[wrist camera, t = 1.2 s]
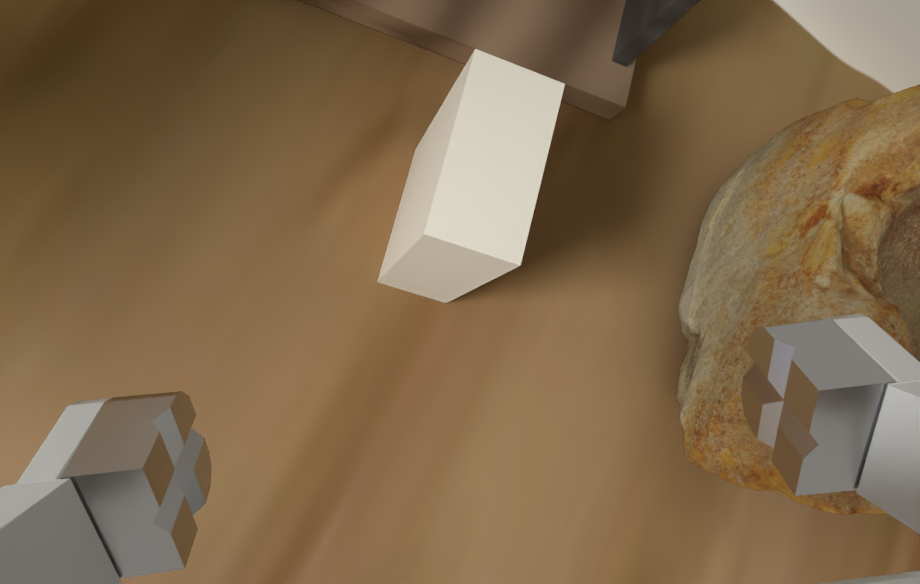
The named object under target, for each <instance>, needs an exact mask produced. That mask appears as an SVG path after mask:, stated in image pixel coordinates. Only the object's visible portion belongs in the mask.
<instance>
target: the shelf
mask: <svg viewBox="0 0 920 584" xmlns="http://www.w3.org/2000/svg"><path fill="white" fill-rule="evenodd" d="M300 1H302V2H305V3H308V4H310V5H313V6H315V7H318V8H321V9H323V10H326V11H328V12H331V13H334V14H336V15H339V16H341V17H344V18H347V19H349V20H352V21H354V22H357V23H359V24H362V25H365V26H367V27H370V28H372V29H375V30H378V31H380V32H383V33H385V34H388V35H391V36H393V37H396V38H398V39H401V40H403V41H406V42H409V43H411V44H414V45H416V46H419V47H422V48H424V49H427V50H429V51H432V52H435V53H437V54H440V55H442V56H445V57H448V58H450V59H453V60H455V61H458V62H460V63H463V64H466V63H467V62H468V60H469V58H470V57H471V55H472V53H473V52H474V50H475V49H478V50H480V51H483V52H485V53H488V54H490V55H493V56H495V57H498V58H500V59H503V60H506V61H508V62H511V63H513V64H516V65H518V66H521V67H523V68H526V69H528V70H531V71H534V72H536V73H539V74H541V75H544V76H546V77H549V78H551V79H554V80H556V81H559V82H562V83H564V84H565V86H564V90H563V95H562V99H561V102H564V103H567V104H569V105H572V106H574V107H577V108H580V109H582V110H585V111H587V112H590V113H593V114H595V115H598V116H600V117H603V118H605V119H608V120H611V119H612V118H613V117H614V116H616V115H617V114H618V113H619V112H621V111H622V110H623V109H624V108H626V104H627V99H628V95H629V90H630V86H631V81H632V77H633V72H634V68H635V63H636V59H637V57H638V56H639V55H640V54H641V53H643V52H644V51H645V50H646V49H647V48H648V47H649V46H650V45H651V44H652V43H653V42H655V41H656V40H657V39H658V38H659V37H660V36H661V35H662V34H663V33H664V32H666V31H667V30H668V29H669V28H670V27H671V26H672V25H673V24H674V23H675V22H676V21H678V20H679V19H680V18H681V17H682V16H683V15H684V14H685V13H686V12H687V11H689V10H690V9H691V8H692V7H693V6H694V5H695V4H696V3H697V2H698V1H699V0H300Z"/></svg>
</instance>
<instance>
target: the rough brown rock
mask: <svg viewBox="0 0 920 584" xmlns="http://www.w3.org/2000/svg"><path fill="white" fill-rule="evenodd" d="M851 314H861V315H864V316H867V317H869V318H870V319H871V320H872V321H873V322H874V323H876V324H877V325H878V326H879V327H880V328H881V329H882V330H884V331H885V332H886V333H887V334H888V335H889V336H890V337H892V338H893V339H894V340H895V341H896V342H897V343H898V344H900V345H901V346H902V347H903V348H904V349H905V350H906V351H907V352H909V353H910V354H911V355H912V356H913V357H914V358H915V359H917V360H918V361H919V362H920V85H917V86H914V87H910V88H908V89H905V90H902V91H899V92H896V93H893V94H889V95H885V96H884V97H882V98H880V99H878V100H876V101H873V102H867V101H864V100H861V99H858V98H854V99H851V100H847V101H843V102H841V103H839V104H837V105H835V106H833V107H831V108H829V109H826V110H823V111H820V112H817V113H814V114H812V115H809V116H807V117H805V118H802V119H800V120H798V121H796V122H794V123H792V124H790V125H789V126H787V127H786V128H784V129H783V130H781V131H780V132H778V133H777V134H776V135H775V136H774V137H773V138H772V139H771V140H770V141H769V142H768V143H767V144H765V145H764V146H763V147H762V148H761V149H760V150H759V151H757V152H756V153H755V154H754V155H751V156H749V157H748V158H747V159H746V160H745V161H744V162H743V164H742V165H741V166H740V167H739V168H738V169H737V171H736V172H735V173H734V174H733V175H732V176H731V177H730V178H729V179H728V180H727V181H726V182H725V183H724V184H723V185H722V186H721V187H720V189H719V190H718V192H717V193H716V195H715V196H714V198H713V199H712V201H711V203H710V205H709V208H708V210H707V212H706V214H705V216H704V218H703V221H702V224H701V229H700V233H699V236H698V240H697V247H696V250H695V252H694V255H693V258H692V260H691V264H690V267H689V271H688V275H687V278H686V282H685V285H684V289H683V292H682V294H681V297H680V301H679V311H678V316H679V318H680V326H681V333H682V334H683V336H684V337H685V338H686V339H687V353H686V356H685V358H684V360H683V362H682V364H681V367H680V371H679V376H678V382H677V389H676V396H675V398H676V399H677V401H678V403H679V404H680V405H681V409H680V412H679V415H680V419H681V425H682V429H683V434H684V455H685V456H686V457H687V458H688V459H689V461H691V462H692V463H694V464H695V465H697V466H699V467H700V468H702V469H704V470H706V471H708V472H710V473H712V474H714V475H717V476H719V477H721V478H723V479H725V480H727V481H729V482H731V483H733V484H735V485H737V486H740V487H743V488H748V489H753V490H758V491H772V492H776V493H778V494H780V495H782V496H784V497H786V498H789V499H791V500H793V501H795V502H798V503H801V504H804V505H807V506H809V507H812V508H815V509H819V510H823V511H827V512H832V513H837V514H842V515H851V514H855V513H861V514H888V513H886V512H885V511H883V510H882V509H880V508H879V507H877V506H876V505H874V504H872V503H871V502H869V501H868V500H866V499H865V498H863V497H862V496H860V495H859V494H857V493H856V492H857V490H852V491H841V492H830V493H819V494H809V495H798V496H795V495H794V493H793V492H792V490H791V489H790V488H789V486H788V485H787V483H786V482H785V480H784V479H783V477H782V476H781V474H780V473H779V471H778V470H777V468H776V467H775V465H774V464H773V462H772V456H773V451H774V448H772V447H771V446H769V445H767V444H765V443H763V442H761V441H760V440H758V439H757V438H756V437H755V435H754V434H753V432H752V431H751V429H750V427H749V425H748V423H747V420H746V418H745V415H744V411H743V405H742V398H741V392H742V383H743V376H744V375H745V374H746V373H747V372H748V371H749V370H750V369H751V368H752V366H753V365H754V364H755V362H754V360H753V359H752V358H751V356H750V355H749V354H748V352H747V350H748V344H749V338H750V336H751V334H752V332H753V330H754V328H757V327H765V326H774V325H782V324H790V323H798V322H806V321H814V320H822V319H824V318H830V317H837V316H844V315H851Z"/></svg>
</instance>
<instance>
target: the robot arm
mask: <svg viewBox="0 0 920 584" xmlns="http://www.w3.org/2000/svg"><path fill="white" fill-rule="evenodd" d="M747 352H748V354H749V355H750V356H751V358H752V359H753V360H754V362H755V364H754V365H753V366H752V368H751V369H750V370H749V371H748V372H747V373H746V374H745V375H744V376H743V383H742V392H741V398H742V405H743V411H744V415H745V418H746V420H747V423H748V425H749V427H750V429H751V431H752V432H753V434H754V435H755V437H756V438H757V439H758V440H760V441H761V442H763V443H765V444H767V445H769V446H771V447H772V448H774V451H773V456H772V462H773V464H774V465H775V467H776V468H777V470H778V471H779V473H780V474H781V476H782V477H783V479H784V480H785V482H786V483H787V485H788V486H789V488H790V489H791V490H792V492H793V493H794V495H795V496H798V495H809V494H819V493H830V492H841V491H852V490H857V492H856V493H857V494H859V495H860V496H862V497H863V498H865V499H866V500H868V501H869V502H871V503H872V504H874V505H876V506H877V507H879V508H880V509H882V510H883V511H885V512H886V513H888V514H889V515H891V516H892V517H894V518H895V519H897V520H898V521H900V522H901V523H903V524H905V525H906V526H908V527H909V528H911V529H912V530H914V531H915V532H917V533H918V534H920V362H919V361H918V360H917V359H915V358H914V357H913V356H912V355H911V354H910V353H909V352H907V351H906V350H905V349H904V348H903V347H902V346H901V345H900V344H898V343H897V342H896V341H895V340H894V339H893V338H892V337H890V336H889V335H888V334H887V333H886V332H885V331H884V330H882V329H881V328H880V327H879V326H878V325H877V324H876V323H874V322H873V321H872V320H871V319H870V318H869V317H867V316H864V315H861V314H851V315H844V316H837V317H830V318H824V319H822V320H814V321H806V322H798V323H790V324H782V325H774V326H765V327H757V328H754V330H753V332H752V334H751V336H750V338H749V344H748V350H747ZM195 416H196V413H195V410H194V407H193V405H192V402H191V400H190V397H189V396H188V395H187V394H185V393H184V392H182V391H179V392H168V393H157V394H146V395H135V396H124V397H113V398H111V399H109V398H104V399H95V400H86V401H77V402H75V403H73V404H70V405H68V406H67V407H66V409H65V410H64V412H63V413H62V415H61V416H60V418H59V420H58V421H57V423H56V424H55V426H54V427H53V429H52V430H51V432H50V433H49V435H48V436H47V438H46V439H45V441H44V442H43V444H42V446H41V447H40V449H39V450H38V452H37V453H36V455H35V456H34V458H33V459H32V461H31V462H30V464H29V465H28V467H27V468H26V470H25V471H24V473H23V475H22V476H21V478H20V479H19V481H18V482H17V484H14V485H6V486H3V487H2V488H0V584H119V583H120V582H121V580H120V578H126V577H132V576H139V575H146V574H153V573H160V572H166V571H173V570H180V569H185V567H186V564H187V561H188V557H189V554H190V551H191V548H192V545H193V542H194V539H195V536H196V533H197V529H198V528H197V526H196V523H195V520H194V518H193V515H194V514H195V513H196V512H197V511H198V510H199V509H200V508H201V507H203V506H204V505H205V504H206V501H207V497H208V494H209V490H210V484H211V462H210V455H209V450H208V447H207V444H206V441H205V438H203V437H202V436H201V435H199V434H198V433H197V432H195V431H194V430H192V429H191V427H192V424H193V421H194V419H195ZM817 584H920V571H913V572H905V573H897V574H889V575H881V576H873V577H865V578H857V579H849V580H841V581H833V582H825V583H817Z"/></svg>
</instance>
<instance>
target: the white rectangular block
mask: <svg viewBox="0 0 920 584" xmlns="http://www.w3.org/2000/svg"><path fill="white" fill-rule="evenodd" d="M564 86H565V84H564V83H562V82H559V81H556V80H554V79H551V78H549V77H546V76H544V75H541V74H539V73H536V72H534V71H531V70H528V69H526V68H523V67H521V66H518V65H516V64H513V63H511V62H508V61H506V60H503V59H500V58H498V57H495V56H493V55H490V54H488V53H485V52H483V51H480V50H478V49H475V50H474V52H473V53H472V55H471V57H470V58H469V60H468V62H467V63H466V65H465V67H464V69H463V70H462V72H461V74H460V75H459V77H458V79H457V80H456V82H455V84H454V85H453V87H452V89H451V90H450V92H449V94H448V95H447V97H446V99H445V100H444V102H443V104H442V106H441V107H440V109H439V111H438V112H437V114H436V116H435V117H434V119H433V121H432V122H431V124H430V126H429V127H428V129H427V131H426V132H425V134H424V136H423V138H422V139H421V141H420V143H419V144H418V146H417V148H416V150H415V153H414V157H413V160H412V164H411V167H410V171H409V174H408V177H407V181H406V184H405V188H404V191H403V195H402V198H401V202H400V205H399V209H398V212H397V216H396V219H395V223H394V226H393V230H392V233H391V236H390V240H389V243H388V247H387V250H386V254H385V257H384V261H383V264H382V268H381V271H380V275H379V278H378V282H379V283H382V284H385V285H388V286H392V287H395V288H398V289H402V290H405V291H408V292H411V293H415V294H418V295H421V296H424V297H428V298H431V299H434V300H438V301H441V302H444V303H448V302H450V301H452V300H454V299H456V298H458V297H460V296H462V295H463V294H465V293H467V292H469V291H471V290H473V289H475V288H477V287H479V286H481V285H483V284H485V283H487V282H489V281H491V280H493V279H495V278H497V277H499V276H501V275H503V274H505V273H507V272H509V271H511V270H513V269H515V268H517V267H519V266H521V262H522V258H523V254H524V250H525V246H526V242H527V238H528V233H529V229H530V225H531V221H532V217H533V213H534V209H535V205H536V201H537V197H538V193H539V189H540V184H541V180H542V176H543V172H544V168H545V164H546V160H547V156H548V152H549V148H550V144H551V139H552V135H553V131H554V127H555V123H556V119H557V115H558V111H559V107H560V103H561V99H562V95H563V90H564Z"/></svg>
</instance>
